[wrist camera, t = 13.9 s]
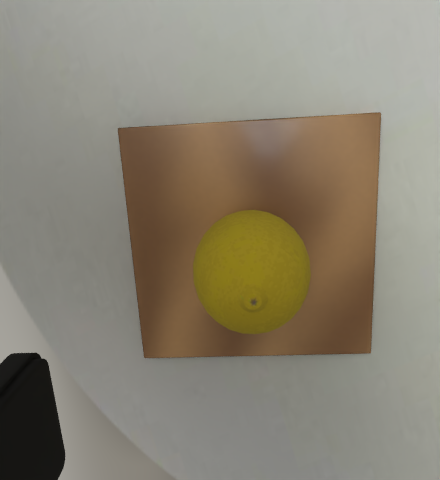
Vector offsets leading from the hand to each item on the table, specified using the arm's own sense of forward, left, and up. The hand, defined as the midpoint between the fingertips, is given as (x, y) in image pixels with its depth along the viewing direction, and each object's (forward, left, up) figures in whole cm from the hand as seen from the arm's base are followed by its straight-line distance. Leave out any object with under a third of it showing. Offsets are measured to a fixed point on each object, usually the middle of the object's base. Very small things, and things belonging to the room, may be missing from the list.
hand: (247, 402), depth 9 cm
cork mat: (0, 0, -15) cm, 15 cm away
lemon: (0, 0, -15) cm, 15 cm away
